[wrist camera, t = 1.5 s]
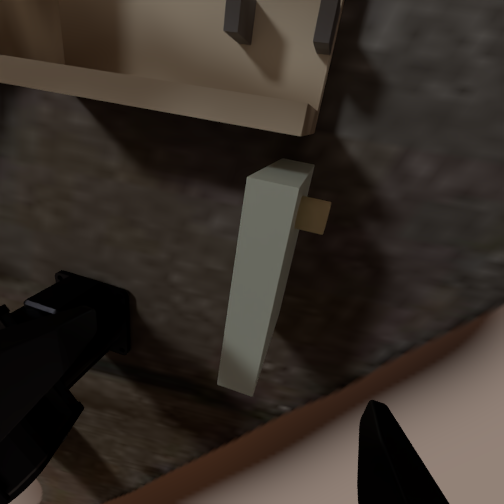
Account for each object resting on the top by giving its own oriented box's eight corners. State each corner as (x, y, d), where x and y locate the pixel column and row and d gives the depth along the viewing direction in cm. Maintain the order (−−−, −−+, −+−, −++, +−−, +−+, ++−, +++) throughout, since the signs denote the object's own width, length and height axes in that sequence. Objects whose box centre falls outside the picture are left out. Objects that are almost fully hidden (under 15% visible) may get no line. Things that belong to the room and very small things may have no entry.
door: (296, 318, 20) (276, 405, 14) (254, 305, 20) (217, 384, 14) (337, 168, 15) (336, 196, 9) (282, 158, 16) (246, 176, 10)
